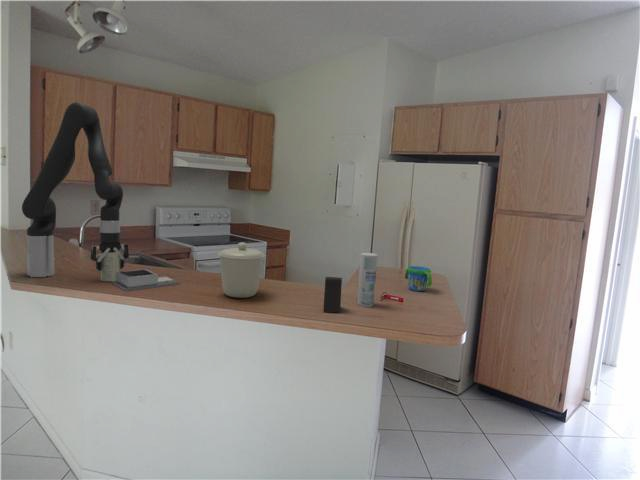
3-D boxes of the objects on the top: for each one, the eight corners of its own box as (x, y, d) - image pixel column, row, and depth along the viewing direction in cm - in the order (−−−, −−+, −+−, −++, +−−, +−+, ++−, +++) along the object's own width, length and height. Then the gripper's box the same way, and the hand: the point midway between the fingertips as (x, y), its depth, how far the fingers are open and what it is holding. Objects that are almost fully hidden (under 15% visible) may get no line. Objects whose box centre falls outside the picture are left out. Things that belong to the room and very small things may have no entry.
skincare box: (120, 279, 180) (120, 251, 179) (114, 282, 176) (114, 253, 174) (105, 278, 181) (105, 250, 179) (99, 280, 177) (99, 251, 175)
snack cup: (437, 293, 191) (439, 271, 190) (417, 294, 187) (419, 272, 185) (416, 285, 205) (418, 264, 204) (397, 286, 201) (399, 265, 200)
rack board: (126, 291, 164) (126, 278, 163) (112, 283, 174) (112, 271, 173) (179, 284, 179) (179, 272, 179) (164, 277, 189) (164, 266, 188)
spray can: (362, 307, 162) (366, 255, 159) (354, 302, 168) (357, 252, 165) (376, 306, 165) (380, 255, 162) (368, 301, 171) (372, 252, 168)
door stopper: (323, 305, 162) (325, 274, 160) (339, 306, 162) (341, 275, 160) (323, 312, 153) (325, 279, 151) (339, 313, 153) (342, 280, 151)
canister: (223, 302, 157) (225, 246, 154) (212, 290, 173) (213, 239, 170) (269, 299, 165) (272, 245, 162) (254, 287, 181) (256, 238, 178)
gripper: (124, 229, 183) (124, 266, 185) (88, 230, 173) (88, 269, 175) (131, 231, 178) (131, 269, 180) (94, 232, 168) (94, 273, 170)
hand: (110, 269), depth 178 cm, fingers open, 8 cm apart
